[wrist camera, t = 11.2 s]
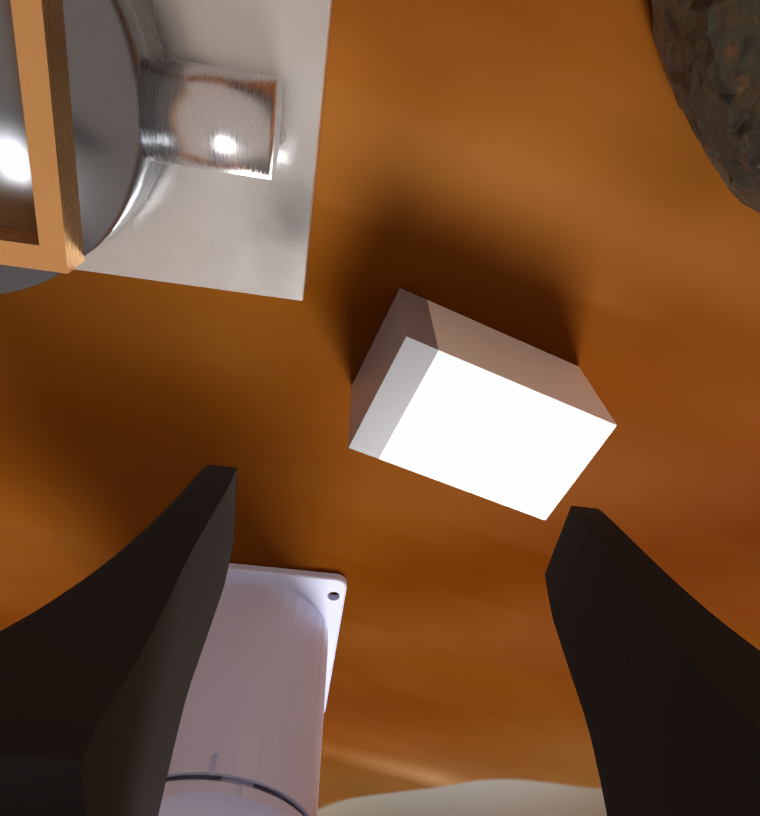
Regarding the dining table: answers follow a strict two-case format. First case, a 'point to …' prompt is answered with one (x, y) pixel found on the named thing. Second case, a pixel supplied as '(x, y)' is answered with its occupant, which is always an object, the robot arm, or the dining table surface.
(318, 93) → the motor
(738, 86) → the hand tool
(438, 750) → the dining table surface
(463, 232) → the dining table surface
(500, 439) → the block
